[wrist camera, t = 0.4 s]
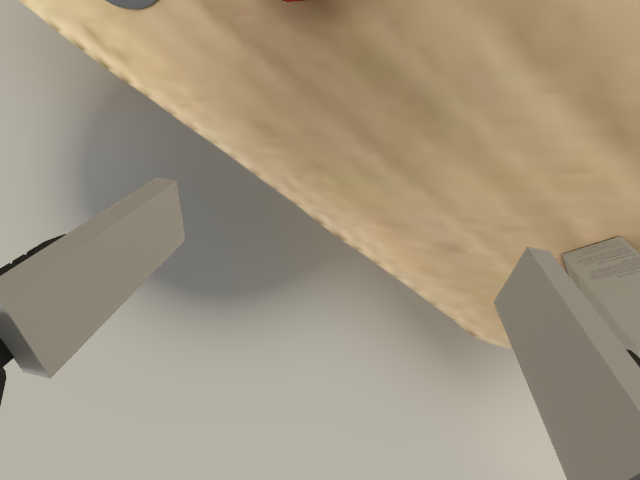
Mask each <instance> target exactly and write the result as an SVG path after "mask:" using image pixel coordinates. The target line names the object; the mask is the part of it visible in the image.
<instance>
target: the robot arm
mask: <svg viewBox="0 0 640 480" xmlns="http://www.w3.org/2000/svg"><path fill="white" fill-rule="evenodd" d="M184 240H185V236H184V229H183V222H182V215H181V209H180V202H179V196H178V189H177V183H176V181H175V180H169V179H164V178H159V177H157V178H155V179H154V180H152V181H151V182H149V183H148V184H146V185H144V186H143V187H141V188H140V189H138V190H136V191H135V192H133V193H132V194H130V195H128V196H127V197H125V198H124V199H122V200H120V201H119V202H117V203H116V204H114V205H112V206H111V207H109V208H108V209H106V210H104V211H103V212H101V213H100V214H98V215H97V216H95V217H93V218H92V219H90V220H89V221H87V222H85V223H84V224H82V225H81V226H79V227H77V228H76V229H75V230H73V231H71V232H69V233H68V234H64V235H61V236H58V237H56V238H53V239H50V240H48V241H45V242H43V243H41V244H40V245H38V246H37V247H35V248H33V249H32V250H30V251H28V252H27V254H26V255H24V254H23V255H22V256H20V257H18V258H17V259H15V260H13V262H12V264H10V263H9V264H7V265H5V266H4V267H2V268H0V405H1V400H2V395H3V391H4V386H5V381H6V372H5V370H4V369H3V367H4V366H5V365H6V364H7V363H8V362H9V361H10V360H12V359H13V358H14V359H15V361H16V362H17V363H18V365H19V366H20V368H21V369H22V370H23V372H26V373H30V374H35V375H39V376H43V377H47V378H51V377H52V376H53V375H54V374H55V373H56V372H57V371H58V370H59V369H60V368H61V367H62V366H63V365H64V364H65V363H66V362H67V361H68V360H69V359H70V358H71V357H72V356H73V355H74V354H75V353H76V352H77V351H78V349H79V348H80V347H81V346H82V345H83V344H84V343H85V342H86V341H87V340H88V339H89V338H90V337H91V336H92V335H93V334H94V333H95V332H96V331H97V329H99V328H100V327H101V326H102V325H103V324H104V323H105V321H107V320H108V319H109V318H110V317H111V315H112V314H113V313H114V312H115V311H116V310H117V309H118V308H119V307H120V306H121V305H122V304H123V303H124V302H125V301H126V300H127V299H128V298H129V297H130V296H131V295H132V294H133V293H134V292H135V291H136V289H138V288H139V287H140V286H141V285H142V283H143V282H144V281H145V280H146V279H147V278H148V277H149V276H150V275H151V274H152V273H153V272H154V271H155V270H156V269H157V268H158V267H159V266H160V265H161V264H162V263H163V262H164V261H165V260H166V259H167V258H168V257H169V256H170V255H171V254H172V253H173V252H174V250H175V249H176V248H177V247H178V246H179V245H180V244H181V243H182V242H183V241H184ZM494 304H495V306H496V309H497V311H498V314H499V316H500V318H501V321H502V323H503V326H504V328H505V330H506V333H507V335H508V338H509V340H510V343H511V345H512V347H513V350H514V352H515V354H516V357H517V360H518V362H519V364H520V367H521V369H522V372H523V374H524V376H525V379H526V381H527V383H528V386H529V389H530V391H531V393H532V396H533V398H534V401H535V403H536V405H537V408H538V410H539V412H540V415H541V418H542V420H543V422H544V425H545V427H546V429H547V432H548V434H549V437H550V439H551V441H552V444H553V446H554V449H555V451H556V454H557V456H558V459H559V461H560V463H561V466H562V468H563V471H564V473H565V476H566V478H567V480H640V358H639V357H638V356H637V355H636V354H635V353H634V352H632V351H631V350H628V349H625V348H624V347H623V345H622V344H621V343H620V341H619V340H618V339H617V338H616V336H615V335H614V334H613V332H612V331H611V330H610V328H609V327H608V326H607V325H606V323H605V322H604V321H603V319H602V318H601V317H600V315H599V314H598V313H597V312H596V310H595V309H594V308H593V306H592V305H591V304H590V303H589V301H588V300H587V299H586V297H585V296H584V295H583V293H582V292H581V291H580V290H579V288H578V287H577V286H576V284H575V283H574V282H573V280H572V279H571V278H570V277H569V275H568V274H567V273H566V271H565V270H564V269H563V267H562V266H561V265H560V264H559V262H558V261H557V260H556V258H555V257H554V256H553V255H552V253H551V252H550V251H547V250H541V249H536V248H531V247H527V248H526V250H525V252H524V253H523V255H522V257H521V258H520V260H519V261H518V263H517V265H516V266H515V268H514V270H513V271H512V273H511V275H510V276H509V278H508V280H507V281H506V283H505V284H504V286H503V288H502V289H501V291H500V293H499V294H498V296H497V298H496V299H495V301H494Z"/></svg>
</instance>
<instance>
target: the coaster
mask: <svg viewBox="0 0 640 480" xmlns="http://www.w3.org/2000/svg"><path fill="white" fill-rule="evenodd" d="M106 1H108V2H109V3H111V4H113V5H116V6H118V7H122V8H127V9H144V8H147V7H150V6H151V5H153V4H155V3H156V2H157V1H158V0H106Z"/></svg>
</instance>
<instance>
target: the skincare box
mask: <svg viewBox="0 0 640 480" xmlns="http://www.w3.org/2000/svg"><path fill="white" fill-rule="evenodd" d="M562 257H563V261H564V264H565V267H566V270H567V273H568V275H569V277H570V278H571V279H572V280H573V282H574V283H575V284H576V286H577V287H578V288H579V290H580V291H581V292H582V293H583V295H584V296H585V297H586V299H587V300H588V301H589V303H590V304H591V305H592V306H593V308H594V309H595V310H596V312H597V313H598V314H599V315H600V317H601V318H602V319H603V321H604V322H605V323H606V325H607V326H608V327H609V328H610V330H611V331H612V332H613V334H614V335H615V336H616V338H617V339H618V340H619V341H620V343H621V344H622V345H623V347H624V348H625V349H628V350H631V351H632V352H634V353H635V354H636V355H637V356H638V357H639V358H640V253H639V252H638V251H637V250H636V249H635V248H633V247H632V246H631V245H630V244H629V243H628V242H626V241H625V240H624V239H623V238H622V237H620V236H619V237H615V238H612V239H609V240H606V241H602V242H599V243H596V244H593V245H589V246H586V247H583V248H580V249H576V250H573V251H570V252H567V253H563V254H562Z"/></svg>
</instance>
